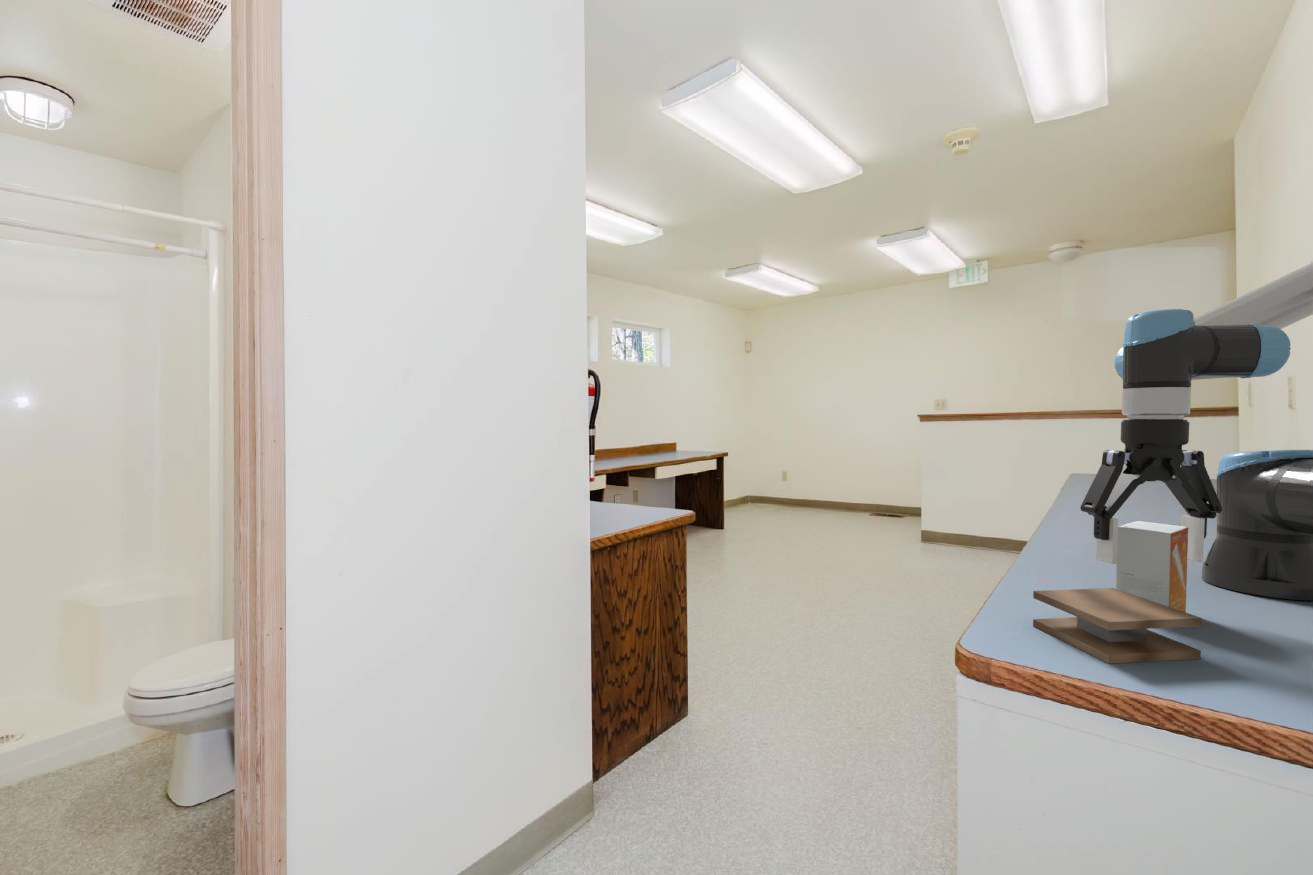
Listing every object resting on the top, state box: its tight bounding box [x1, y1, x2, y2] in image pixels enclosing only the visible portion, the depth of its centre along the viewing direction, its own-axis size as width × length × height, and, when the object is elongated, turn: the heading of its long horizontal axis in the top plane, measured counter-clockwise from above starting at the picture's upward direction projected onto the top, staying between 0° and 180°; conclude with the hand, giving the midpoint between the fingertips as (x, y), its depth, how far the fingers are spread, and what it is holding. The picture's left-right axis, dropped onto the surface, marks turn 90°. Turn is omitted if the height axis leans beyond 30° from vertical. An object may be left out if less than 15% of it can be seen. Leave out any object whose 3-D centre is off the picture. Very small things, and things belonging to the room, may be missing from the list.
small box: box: [1115, 520, 1189, 613], centre depth 83 cm, size 8×6×13 cm
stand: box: [1032, 587, 1203, 664], centre depth 73 cm, size 12×12×5 cm
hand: (1149, 561), depth 83 cm, fingers open, 13 cm apart
